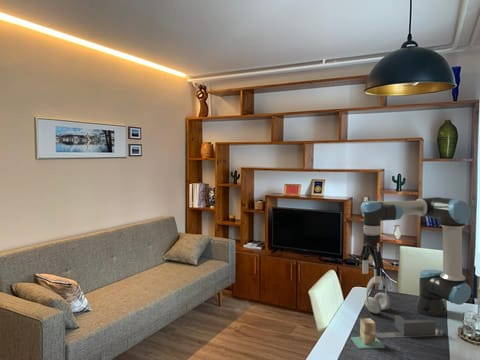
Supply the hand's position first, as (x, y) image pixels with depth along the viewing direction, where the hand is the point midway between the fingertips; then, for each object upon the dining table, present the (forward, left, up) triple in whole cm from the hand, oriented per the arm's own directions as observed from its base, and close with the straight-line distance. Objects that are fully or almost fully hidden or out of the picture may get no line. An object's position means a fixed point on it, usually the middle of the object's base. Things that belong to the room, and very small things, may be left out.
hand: (371, 277), depth 180 cm
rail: (-18, 0, -29) cm, 34 cm away
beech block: (+4, +6, -28) cm, 29 cm away
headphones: (-16, -28, -29) cm, 43 cm away
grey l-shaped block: (-24, -3, -28) cm, 37 cm away
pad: (+4, +6, -29) cm, 30 cm away
